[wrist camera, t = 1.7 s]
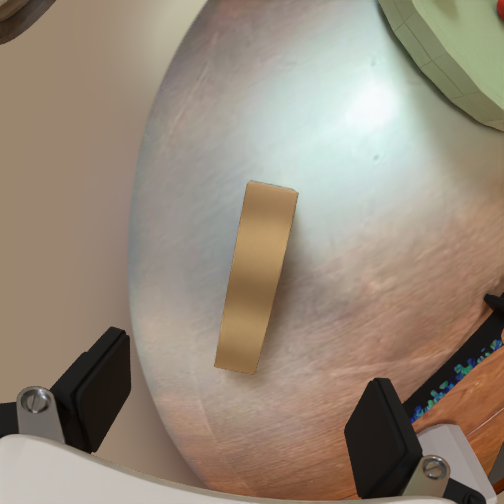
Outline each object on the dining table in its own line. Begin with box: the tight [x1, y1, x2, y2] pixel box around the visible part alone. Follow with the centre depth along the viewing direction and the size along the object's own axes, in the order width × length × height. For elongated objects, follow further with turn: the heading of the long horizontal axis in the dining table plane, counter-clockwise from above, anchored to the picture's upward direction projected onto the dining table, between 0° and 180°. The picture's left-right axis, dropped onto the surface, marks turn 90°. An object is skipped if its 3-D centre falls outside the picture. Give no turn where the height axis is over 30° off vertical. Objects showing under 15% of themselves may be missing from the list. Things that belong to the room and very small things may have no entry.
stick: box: [214, 180, 298, 375], centre depth 20 cm, size 13×3×3 cm, turn 169°
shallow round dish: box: [378, 0, 504, 132], centre depth 12 cm, size 21×21×5 cm
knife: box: [402, 293, 504, 424], centre depth 20 cm, size 31×3×4 cm, turn 143°
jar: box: [416, 423, 497, 504], centre depth 18 cm, size 10×10×18 cm
